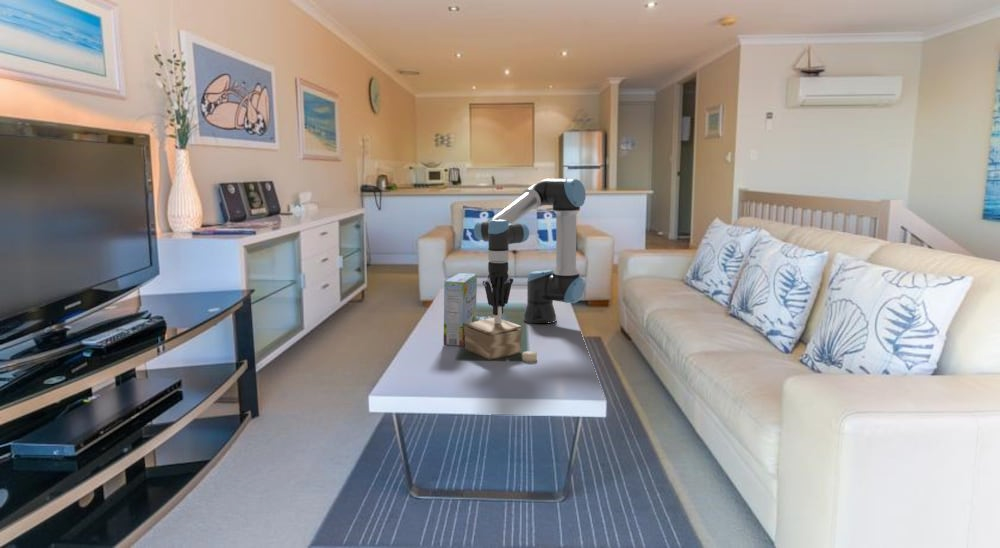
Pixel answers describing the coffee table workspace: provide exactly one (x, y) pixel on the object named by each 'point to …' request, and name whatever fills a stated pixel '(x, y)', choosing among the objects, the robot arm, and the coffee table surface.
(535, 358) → the cream domed disc
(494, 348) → the tan open box
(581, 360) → the coffee table surface
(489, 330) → the lid
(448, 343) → the snack box
